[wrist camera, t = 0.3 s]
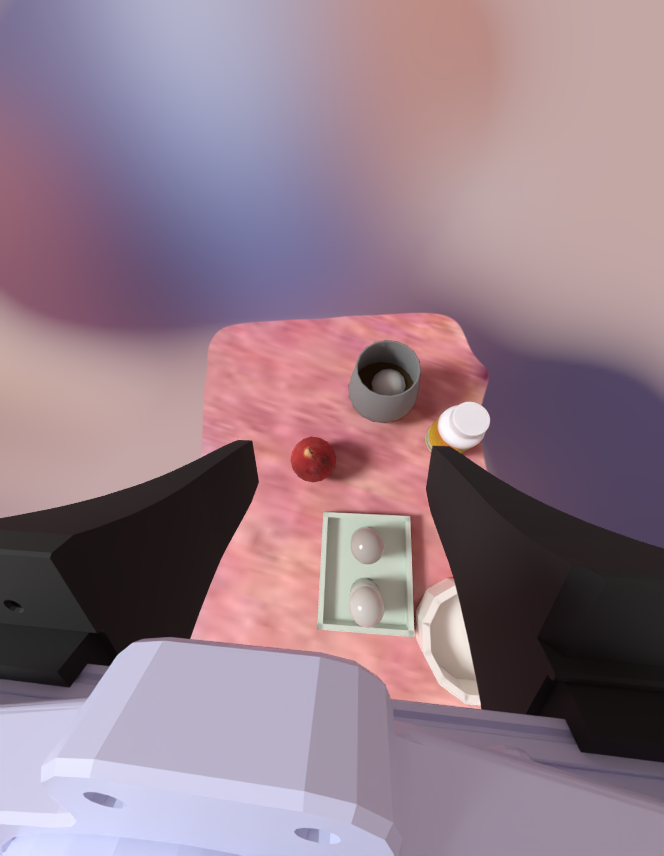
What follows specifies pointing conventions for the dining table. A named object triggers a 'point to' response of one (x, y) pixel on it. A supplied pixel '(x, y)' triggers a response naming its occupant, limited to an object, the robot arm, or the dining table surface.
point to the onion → (313, 459)
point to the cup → (385, 381)
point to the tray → (366, 573)
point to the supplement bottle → (459, 427)
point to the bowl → (446, 641)
